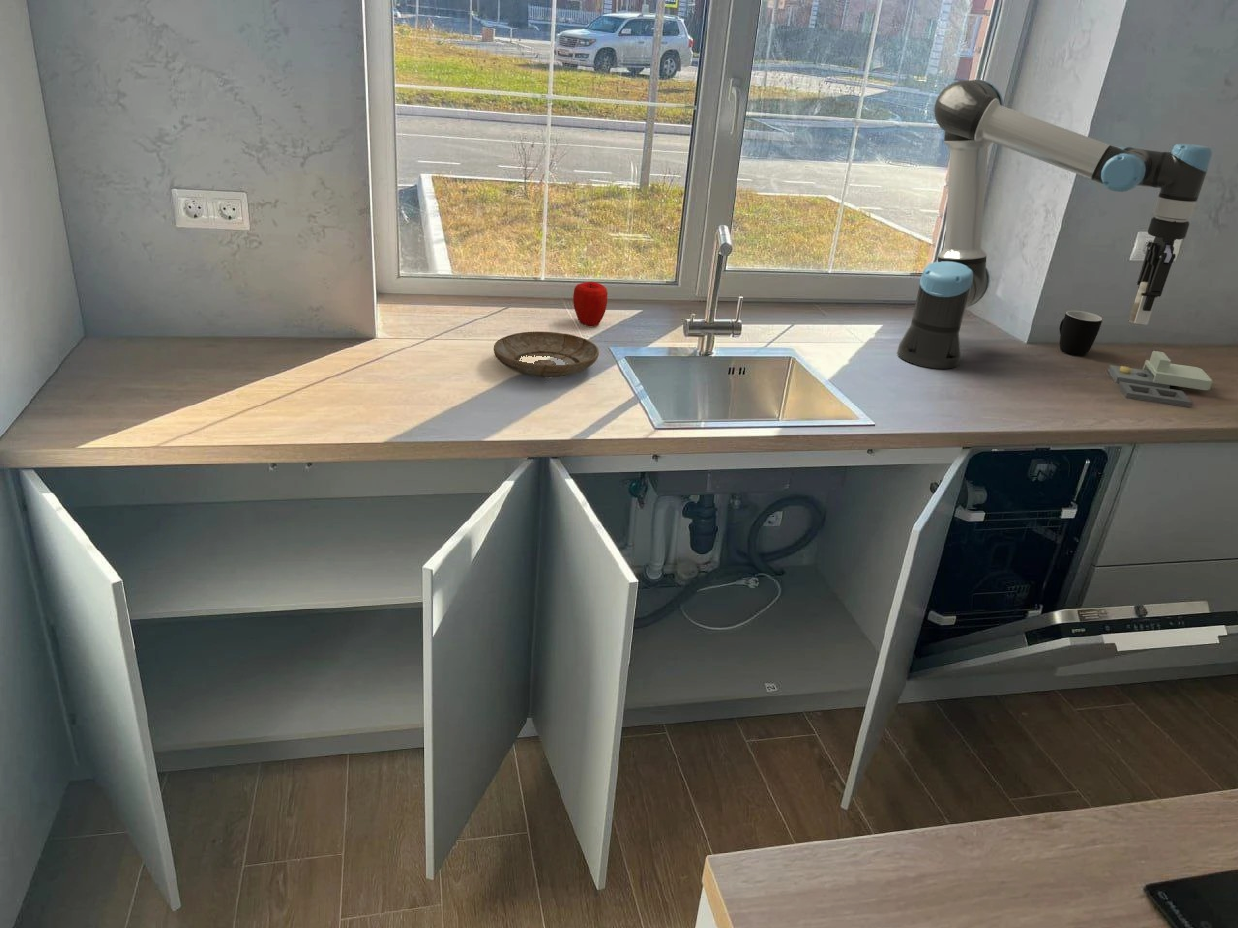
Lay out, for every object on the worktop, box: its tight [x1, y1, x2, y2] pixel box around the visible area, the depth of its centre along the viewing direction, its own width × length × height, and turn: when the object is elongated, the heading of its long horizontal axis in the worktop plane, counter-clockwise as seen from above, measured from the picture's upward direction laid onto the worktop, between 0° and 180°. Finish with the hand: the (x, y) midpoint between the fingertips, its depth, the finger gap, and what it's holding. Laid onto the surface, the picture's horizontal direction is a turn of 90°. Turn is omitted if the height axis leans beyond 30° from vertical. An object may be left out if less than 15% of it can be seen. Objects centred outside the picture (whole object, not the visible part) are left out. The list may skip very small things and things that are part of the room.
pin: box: [1128, 282, 1148, 325], centre depth 210 cm, size 4×4×9 cm
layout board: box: [1107, 364, 1171, 389], centre depth 227 cm, size 12×9×3 cm
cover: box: [1142, 350, 1214, 391], centre depth 224 cm, size 13×10×5 cm
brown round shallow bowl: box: [493, 331, 600, 379], centre depth 204 cm, size 23×24×5 cm
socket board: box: [1117, 382, 1193, 408], centre depth 218 cm, size 14×8×1 cm, turn 75°
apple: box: [572, 281, 608, 327], centre depth 233 cm, size 9×9×11 cm
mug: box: [1059, 310, 1103, 357], centre depth 244 cm, size 12×9×10 cm
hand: (1138, 321), depth 212 cm, fingers closed on pin, 3 cm apart
